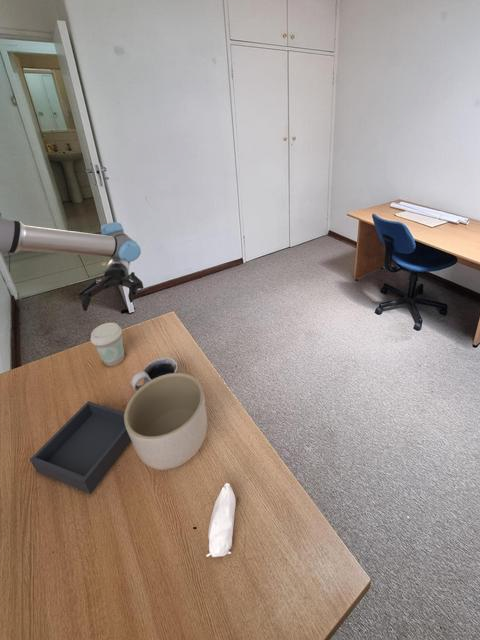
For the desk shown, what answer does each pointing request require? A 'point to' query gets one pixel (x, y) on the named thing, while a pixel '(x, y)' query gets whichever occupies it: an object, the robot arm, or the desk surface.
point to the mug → (155, 371)
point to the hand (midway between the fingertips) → (107, 303)
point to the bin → (84, 447)
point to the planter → (167, 420)
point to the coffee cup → (108, 343)
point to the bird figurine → (222, 523)
